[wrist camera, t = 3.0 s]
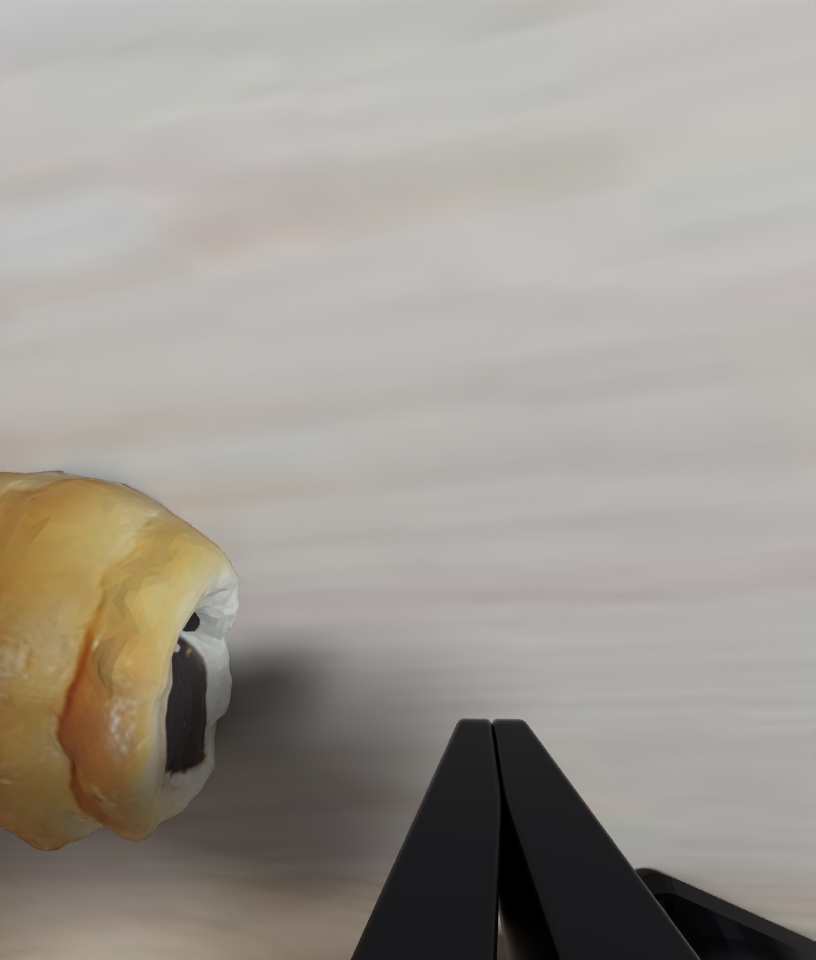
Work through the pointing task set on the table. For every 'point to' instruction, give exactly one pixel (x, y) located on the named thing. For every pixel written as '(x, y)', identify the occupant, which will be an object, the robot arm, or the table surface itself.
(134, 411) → the table surface
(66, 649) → the pastry
